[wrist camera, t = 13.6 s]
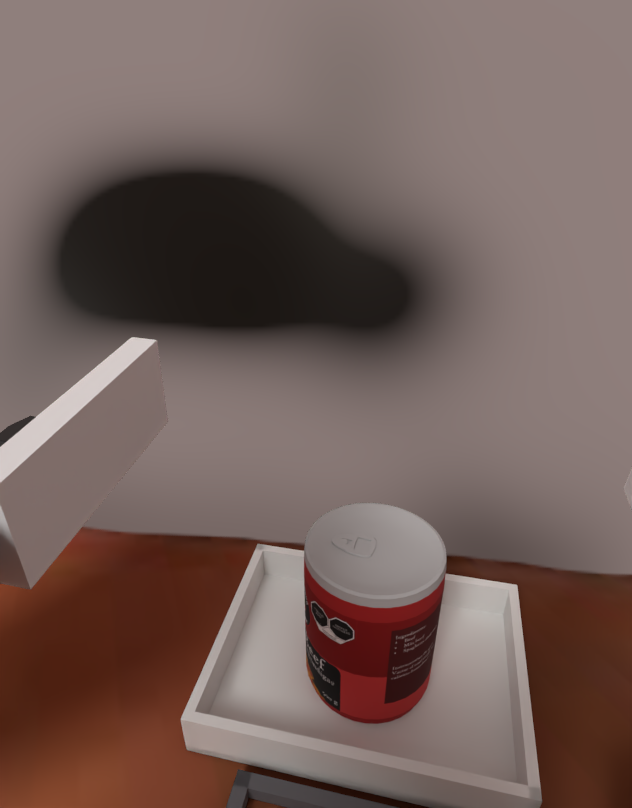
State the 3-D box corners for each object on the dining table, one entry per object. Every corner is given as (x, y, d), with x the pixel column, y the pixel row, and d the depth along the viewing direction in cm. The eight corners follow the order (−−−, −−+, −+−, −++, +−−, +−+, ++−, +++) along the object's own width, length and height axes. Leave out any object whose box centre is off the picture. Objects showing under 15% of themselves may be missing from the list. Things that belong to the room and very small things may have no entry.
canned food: (308, 620, 40) (306, 499, 35) (421, 623, 40) (436, 502, 35) (302, 726, 34) (299, 597, 28) (437, 731, 33) (459, 601, 28)
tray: (186, 750, 33) (180, 719, 32) (259, 571, 45) (257, 543, 44) (530, 831, 29) (542, 801, 28) (510, 614, 41) (517, 584, 40)
